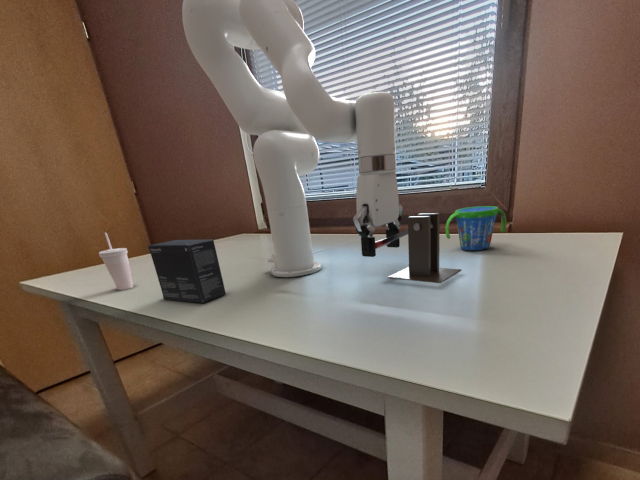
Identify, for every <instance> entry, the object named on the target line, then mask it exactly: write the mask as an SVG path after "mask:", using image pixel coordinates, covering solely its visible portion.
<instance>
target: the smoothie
mask: <svg viewBox="0 0 640 480" xmlns="http://www.w3.org/2000/svg"><path fill="white" fill-rule="evenodd" d="M103 234H104V236H105V239H106V242H107V245H108V248H109V249H105V250H101V251H99V252H98V256H99V258H101V260H102V261H103V264H104V266H105V267H106V269H107V271H108V273H109V275H110V278H111V279H112V281H113V283H114V285H115V287H116V289H117V291H124V290H125V291H126V290H130V289H132V288H134V282H133V276H132V273H131V268H130V267H131V266H130V263H129V256H128V253H129V251H128V248H126V247H119V248H113V246H112V244H111V241H110V238H109V235H108V233H107V232H104V233H103Z"/></svg>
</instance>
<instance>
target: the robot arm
mask: <svg viewBox="0 0 640 480" xmlns="http://www.w3.org/2000/svg"><path fill="white" fill-rule="evenodd" d="M181 15H182V17H181V18H182V27H183V31H184V36H185V39H186V41H187V44H188V47H189V50H190V51H191V53H192V55H193V57H194V58H195V60H196V62H197V63H198V65H199V66H200V68H201V69H202V70H203V72H204V74H206V76H207V77H208V79H209V80H210V82H211V83H212V85H213V86H214V88H215V89H216V91H217V94H218V95H219V96H220V98H221V99H222V101H223V102H224V104H225V106H226V108H227V109H228V111H229V112H230V114H231V115H232V118H233V119H234V120H235V123H236V125H238V127H239V128H240V129H241V130H242V131H243V132H244V133H246V134H248V135H250V136H251V135H252V136H258V137H257V138H256V140H255V141H254V145H253V147H252V148H253V150H252V152H253V153H252V156H253V162H254V166H255V168H256V171H257V174H258V176H259V177H258V178H259V180H260V184H261V186H262V192H263V196H264V201H265V206H266V211H267V217H268V223H269V229H270V234H271V241H272V246H273V247H272V248H273V251H274V252H273V253H272V254H271V256H269V257H268V258H267V262H269V263H273V265H274V267H273V268H271V271H270V272H271V275H272V276H273V277H277V278H294V277H303V276H307V275H311V274H314V273H316V272H319V271H320V270H321V268H322V266H321V263H320V262H318V261H315V259H314V252H313V243H312V236H311V235H312V234H311V227H310V221H309V213H308V205H307V197H306V192H305V190H304V186H303V183H302V181H301V179H300V176H306V175H309V174H311V173H312V172H314V171H315V170H316V168H317V167H318V165H319V161H320V150H319V146H318V142H317V141H319V142H322V143H337V144H338V143H339V144H348V143H349V144H350V143H353V142H356V145H357V146H356V147H357V161H358V173H359V174H358V175H357V180H356V193H355V195H356V196H355V197H356V198H355V199H356V200H355V202H356V204H355V205H356V214H355V215H354V216H353V218H352V222H353V223H354V226H355V231H356V232H357V234H358V237H359V239H360V245H361V255H362V257H368V258H375V257H376V255H377V253H376V252H377V251H376V250H377V249H375V242H376V236H374V234H375V230H376V228H377V227H381V226H384V225H385V226H386V228H385V238H388V237H391V236H393V235H395V234H397V233H400V229H401V222H402V214H403V210H404V208H403V206H402V205H401V204H400V200H399V198H400V197H399V187H398V180H397V174H396V173H397V155H396V154H397V152H396V150H397V149H396V148H397V147H396V118H395V115H396V114H395V113H396V111H395V99H394V96H393V95H392V94H391V93H390V92H386V91H375V92H369V93H363V94H362V95H359V96H358V97H357V98H356V100H347V99H342V98H338V97H333V96H331V95H330V94H329V92H328V91H327V90H326V89H325V88H324V86H323V85H322V84H321V82H320V81H319V79H318V78H317V76H316V75H315V74H314V71H313V69H312V66H313V64H314V62H315V58H316V48H315V46H314V44H313V42H312V41H311V39H310V38H309V36H308V35H307V34H306V32H305V31H304V30H305V23H304V22H305V21H304V16H303V13H302V11H301V8H300V7H299V5H298V4H297V2H296V1H295V0H182V7H181ZM232 46H233V47H236V48H239V49H244V50H250V51H251V50H253V51H256V50H257V51H258V50H259V51H260V50H261V51H262V52H263V54H264V55H265V57H266V58H267V60H268V61H269V62H270V64H271V65H272V66H273V68H274V70H276V72H277V73H278V74H279V76H280V77H281V85H282V90H283V92H281V91H279V90H276V89H272V88H266V87H264V86H263V85H261V84H260V83H259V81H257V79H256V78H255V76H254V75H253V73H252V72H251V70H250V68H249V66H248V65H247V63H246V62H245V60H244V59H243V58H242V57H241V56H240V54H239V53H238V52H237V51H236V50H235V49H234V48H233V47H232ZM316 140H317V141H316ZM400 239H401V238H398V239H396V240H394V241H391V242H390V244H388V245H386V247H387V248H395V249H396V248H399V247H400V246H401V244H400V241H401V240H400Z"/></svg>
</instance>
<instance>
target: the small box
mask: <svg viewBox="0 0 640 480" xmlns="http://www.w3.org/2000/svg"><path fill="white" fill-rule="evenodd" d="M147 247H148V250H149V254H150V256H151V260H152V263H153V266H154V270H155V273H156V276H157V279H158V280H157V281H158V283H159V287H160V289H161V290H160V291H161V293H162V298H163V300H166V301H177V302H187V303H189V302H190V303H201V304H204V303H206V302H209V301H212V300H214V299H217V298H219V297H221V296H224V295H226V294H227V293H226V288H225V284H224V279H223V275H222V272H221V267H220V263H219V262H220V261H219V258H218V254H217V253H218V252H217V250H216V244H215V240H214V239H212V238H211V239H174V240H169V241H168V240H167V241H164V242H159V243H154V244H150V245H147Z"/></svg>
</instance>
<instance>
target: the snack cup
mask: <svg viewBox="0 0 640 480" xmlns="http://www.w3.org/2000/svg"><path fill="white" fill-rule="evenodd" d="M498 213H499V214H500V229H499V232H500V233H502V234H503V233H505V231H506V230H507V217H506V213H505V211H503V210H502V209H500V208H499V207H498V206H494V205H493V206H492V205H479V206H469V207H463V208H458V209H456V210H455V211H454V213H452V214H451V215H450V216H449V217H448V219H447V220H446V223H445V229H444V231H445V237H446V239H447V240H450V239H451V235H450V234H451V233H450V223H451V222H452V221H453V219H454V218H455V220H456V224H457V231H458V232H457V233H458V239H459V240H458V241H459V246H460V249H461V250H463V251H473V252H475V251H482V250H487V249H489V248H490V246H491V242H492V238H493V233H494V228H495V223H496V219H497V216H498Z"/></svg>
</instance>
